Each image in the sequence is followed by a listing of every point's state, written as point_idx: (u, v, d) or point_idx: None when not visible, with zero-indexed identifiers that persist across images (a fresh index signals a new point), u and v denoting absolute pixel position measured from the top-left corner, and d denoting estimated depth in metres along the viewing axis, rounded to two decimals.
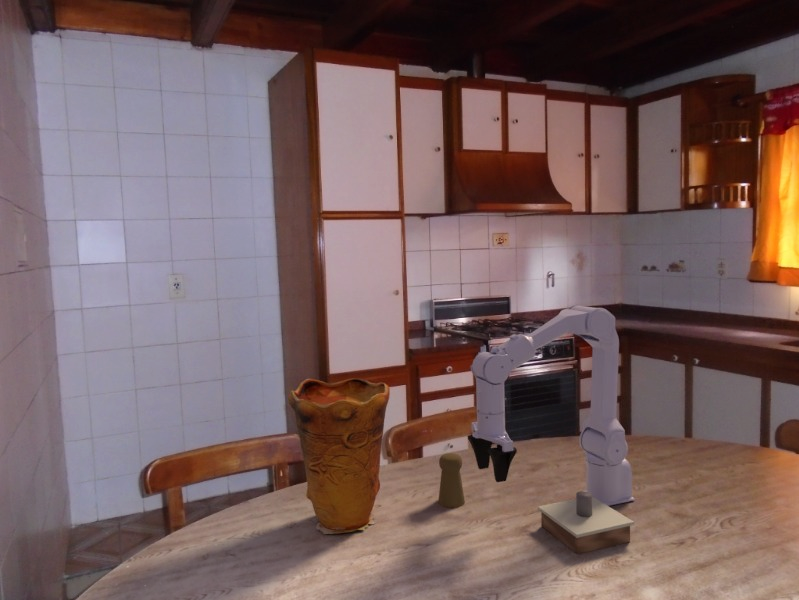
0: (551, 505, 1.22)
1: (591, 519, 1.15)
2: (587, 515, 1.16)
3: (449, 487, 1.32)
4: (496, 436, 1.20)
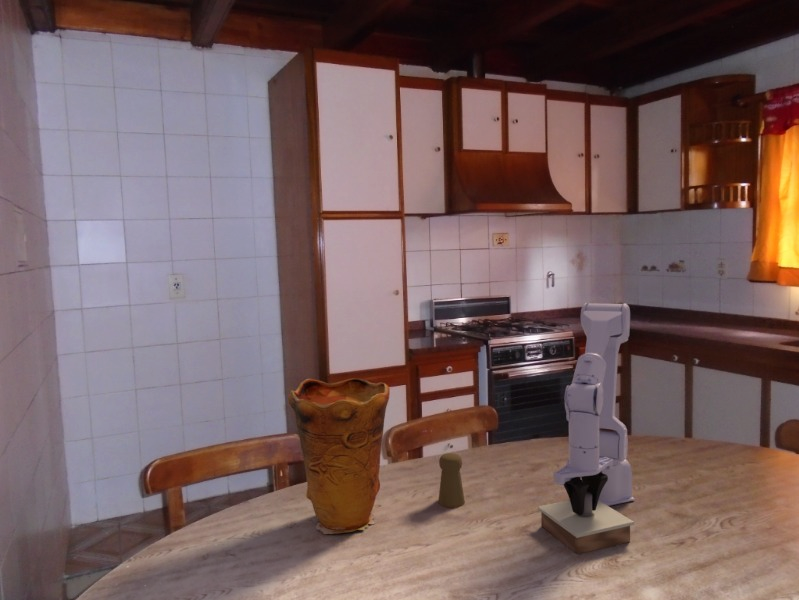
0: (551, 505, 1.22)
1: (591, 519, 1.15)
2: (587, 515, 1.16)
3: (450, 487, 1.32)
4: (571, 469, 1.16)
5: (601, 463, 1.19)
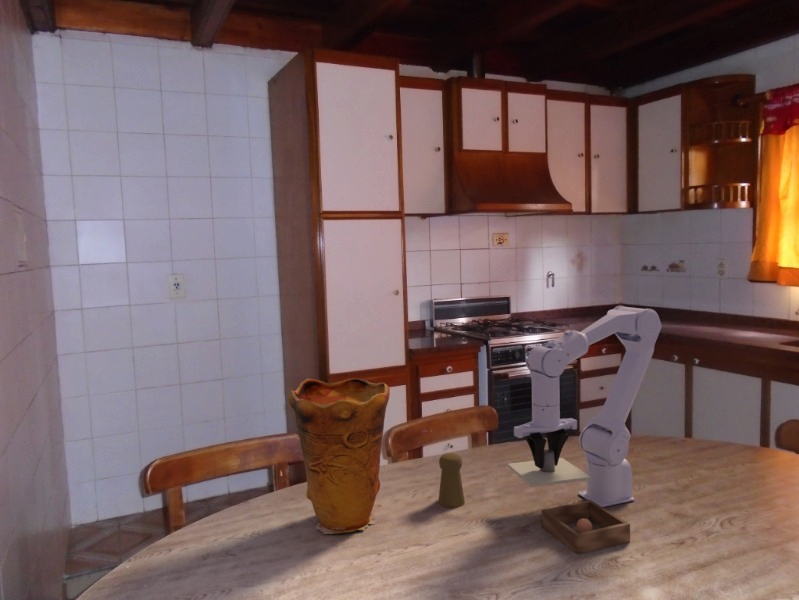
0: (520, 463, 1.32)
1: (551, 474, 1.24)
2: (548, 470, 1.25)
3: (449, 487, 1.32)
4: (532, 425, 1.25)
5: (564, 422, 1.27)
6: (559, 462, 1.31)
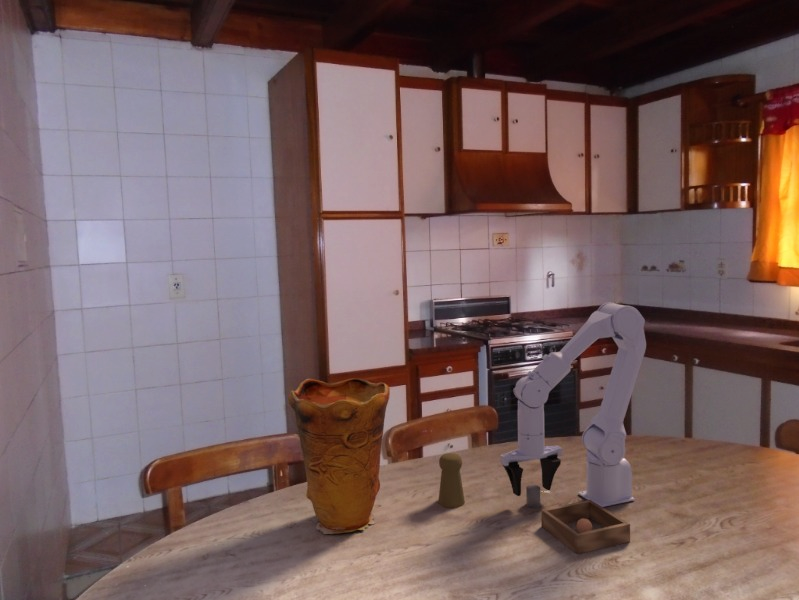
0: None
1: None
2: (534, 506, 1.30)
3: (449, 487, 1.32)
4: (518, 453, 1.31)
5: (549, 450, 1.32)
6: None
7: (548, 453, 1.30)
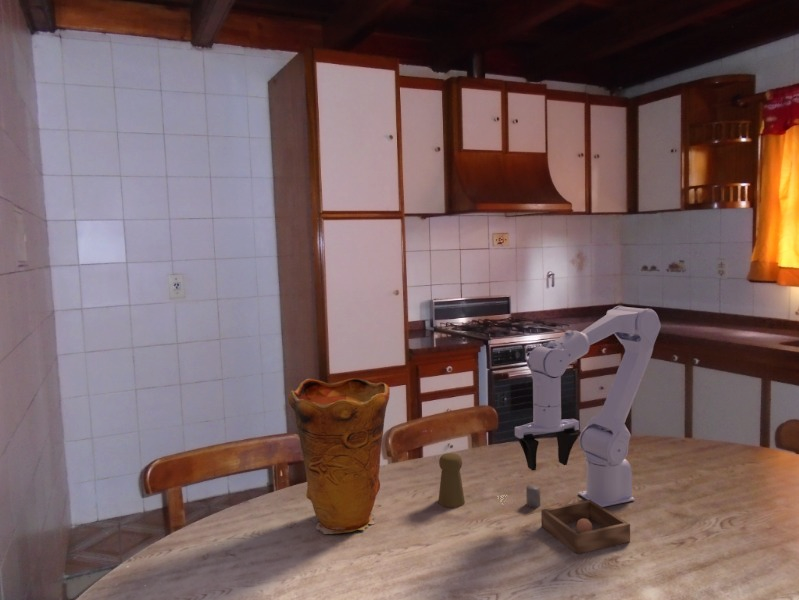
0: None
1: None
2: (534, 506, 1.30)
3: (449, 487, 1.32)
4: (533, 425, 1.25)
5: (566, 423, 1.27)
6: None
7: (565, 426, 1.25)
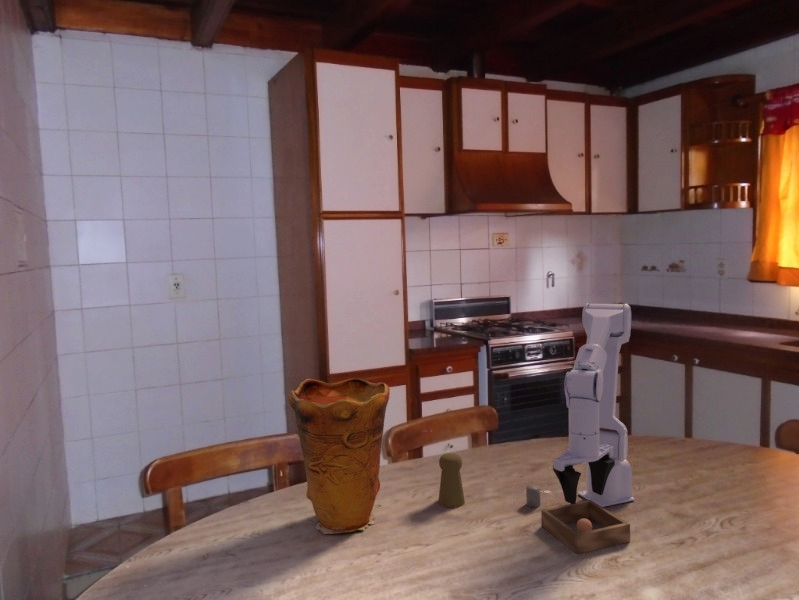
0: None
1: None
2: (534, 506, 1.30)
3: (449, 487, 1.32)
4: (571, 455, 1.15)
5: (601, 450, 1.18)
6: None
7: (603, 453, 1.16)
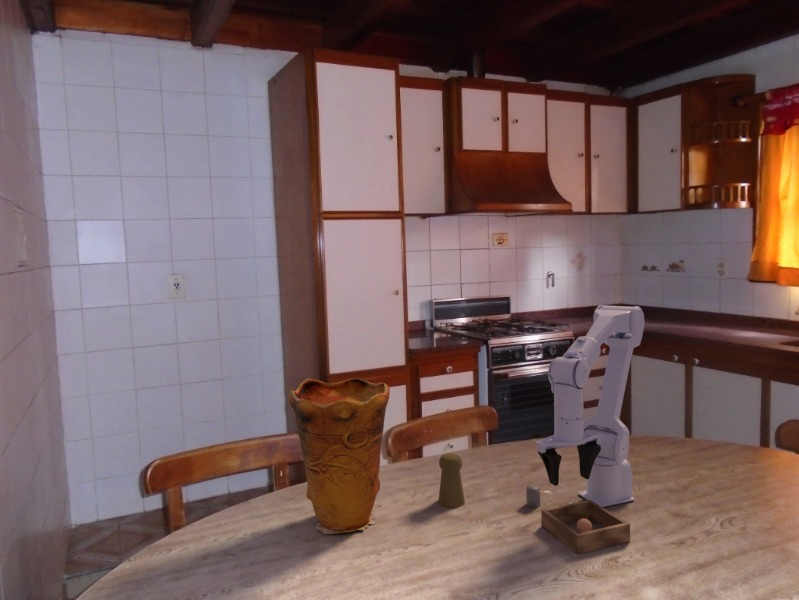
0: None
1: None
2: (534, 506, 1.30)
3: (450, 487, 1.32)
4: (555, 439, 1.20)
5: (588, 436, 1.22)
6: None
7: (588, 439, 1.20)
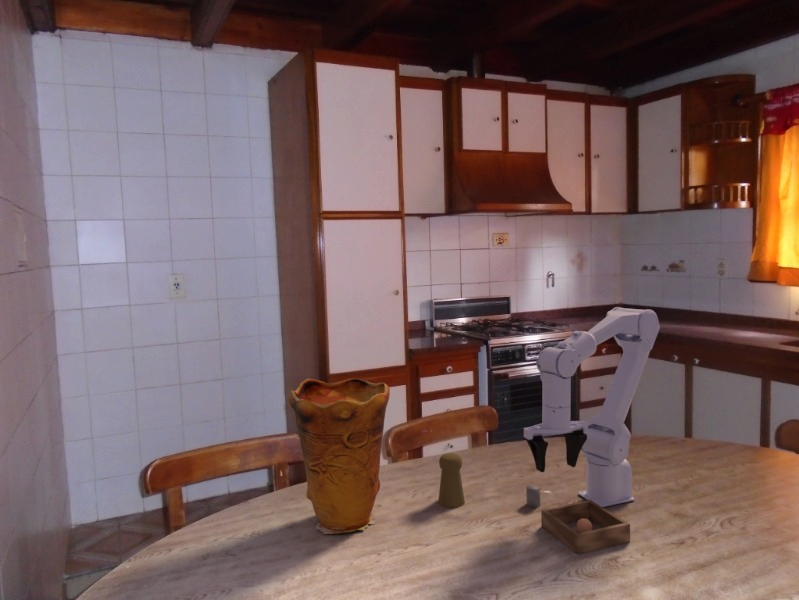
0: None
1: None
2: (534, 506, 1.30)
3: (449, 487, 1.32)
4: (542, 427, 1.24)
5: (575, 425, 1.26)
6: None
7: (574, 427, 1.24)
